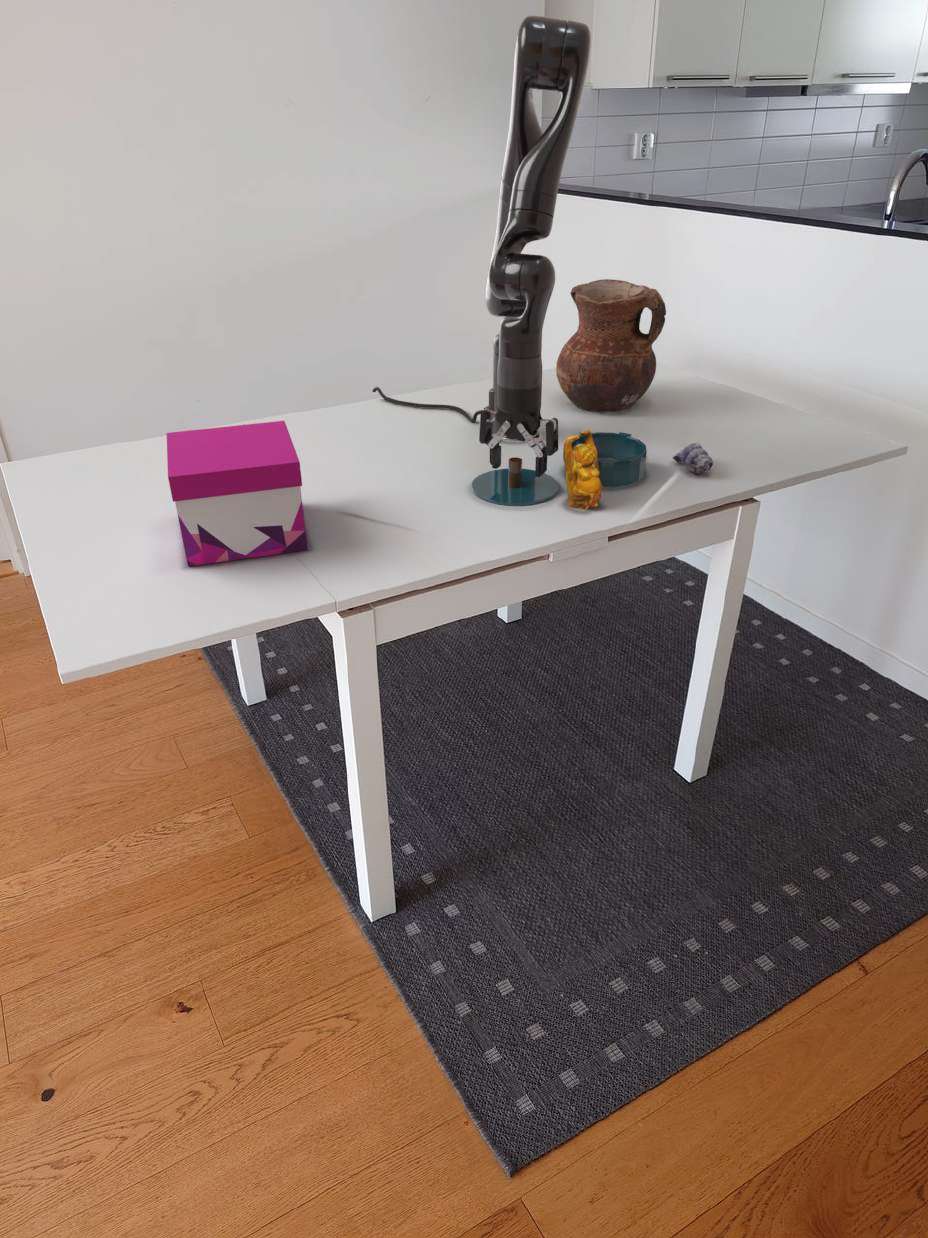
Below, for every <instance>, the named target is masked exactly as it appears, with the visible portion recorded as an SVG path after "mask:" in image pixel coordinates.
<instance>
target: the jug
mask: <svg viewBox="0 0 928 1238" xmlns="http://www.w3.org/2000/svg"><path fill="white" fill-rule="evenodd" d="M569 293H570V296H571V298H572V300H573V303H574V304H575V307H576V309H577V315H578V326H577V330H576V332H574V333H573V335H571V337H570V338H569V339H568V340H567V341H566V343H564V345H563V346H562V348H561V350H560V352H559V355H558V357H557V360H556V367H555V372H556V378H557V381H558V384H559V387H560V389H561V390H562V393H563V394H564V395H565V396H566V398H567V399H568V400H569V401H570V402H571V403H572V404H573V405H574V406H575V407H577V408H578V409H581V410H585V411H589V412H598V413H599V412H601V413H602V412H605V413H606V412H607V413H610V412H620V411H621V412H622V411H624V410H628V409H631V408H632V407H633V406H634V405H635V404H636V403H637V402H638V401H639V400H640V399H641V398H642V397H643V396H644V395H645V394H646V392H647V391H648V390H649V388H650V387H651V385H652V382H653V381H654V378H655V375H656V371H657V358H656V353H655V352H654V349H653V344H654V343H655V341H657V339H658V337H659V336H660V334H662V331H663V328H664V326H665V323H666V317H665V316H666V315H667V309H666V303H665V301H664V299H663V297H662V295H661V293H659V291H658V290H657V289H656V288H651V287H649V286H647V285H643V284H642V285H640V284H639V285H638V284H636V283H632V282H629V281H628V280H621V279H610V278H609V279H607V278H605V279H597V280H592V281H589V282H587V283H581V284H577V285H576V286H573V287H572V288H571V291H570V292H569ZM646 308H647V309H648V310H649V311H650V312H651V321H650V326H649V330H648V333H644V332H643V331H641V329H640V325H641V319H642V314H643V312H644V309H646Z"/></svg>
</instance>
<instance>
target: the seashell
mask: <svg viewBox="0 0 928 1238" xmlns="http://www.w3.org/2000/svg"><path fill="white" fill-rule="evenodd" d="M672 460H674V462H676V463H678V464H680V463H681V464H683V466H684V467H685V468H686V469H687V470H688V471H689V472H692V473H693V474H704V473H706V472H709V471H710V470H711V469H712V467H713V465H714V461H713V459H712V457H711V456H709V453H708V452H707V450H705V449H704V448H703V446H702V445H701V443H699V442H692V443H690V444H687V445H686V446H685V447H683V448H682V449H680V450H679V451H678V452H676V453H675V455H673V456H672Z"/></svg>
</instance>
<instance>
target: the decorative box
mask: <svg viewBox="0 0 928 1238" xmlns="http://www.w3.org/2000/svg"><path fill="white" fill-rule="evenodd" d="M166 456H167V459H166V460H167V461H166V462H167V478H168V479H167V480H168V483H169V484H168V485H169V490H170V494H171V499H172V502H173V503H175V508H176V514H177V517H178V523H179V528H180V534H181V538H182V543H183V548H184V553H185V557H186V558H185V559H186V564H187V567H194V566H201V565H209V564H215V563H223V562H230V561H238V560H244V559H251V558H259V557H260V558H261V557H267V556H273V555H281V554H288V553H294V552H303V551H308V542H307V541H308V539H307V534H306V533H307V532H306V524H305V516H304V508H303V507H304V506H303V498H302V489H301V488H302V487H303V480H302V472H301V462H300V459H299V456H298V454H297V451H296V448H295V445H294V443H293V441H292V437H291V435H290V432H289V429H288V426H287V424H286V420H278V421H277V420H276V421H267V422H258V423H248V424H240V425H239V424H238V425H230V426H228V425H227V426H218V427H210V428H209V427H208V428H201V429H190V430H182V431H181V430H180V431H171V432H166Z"/></svg>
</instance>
